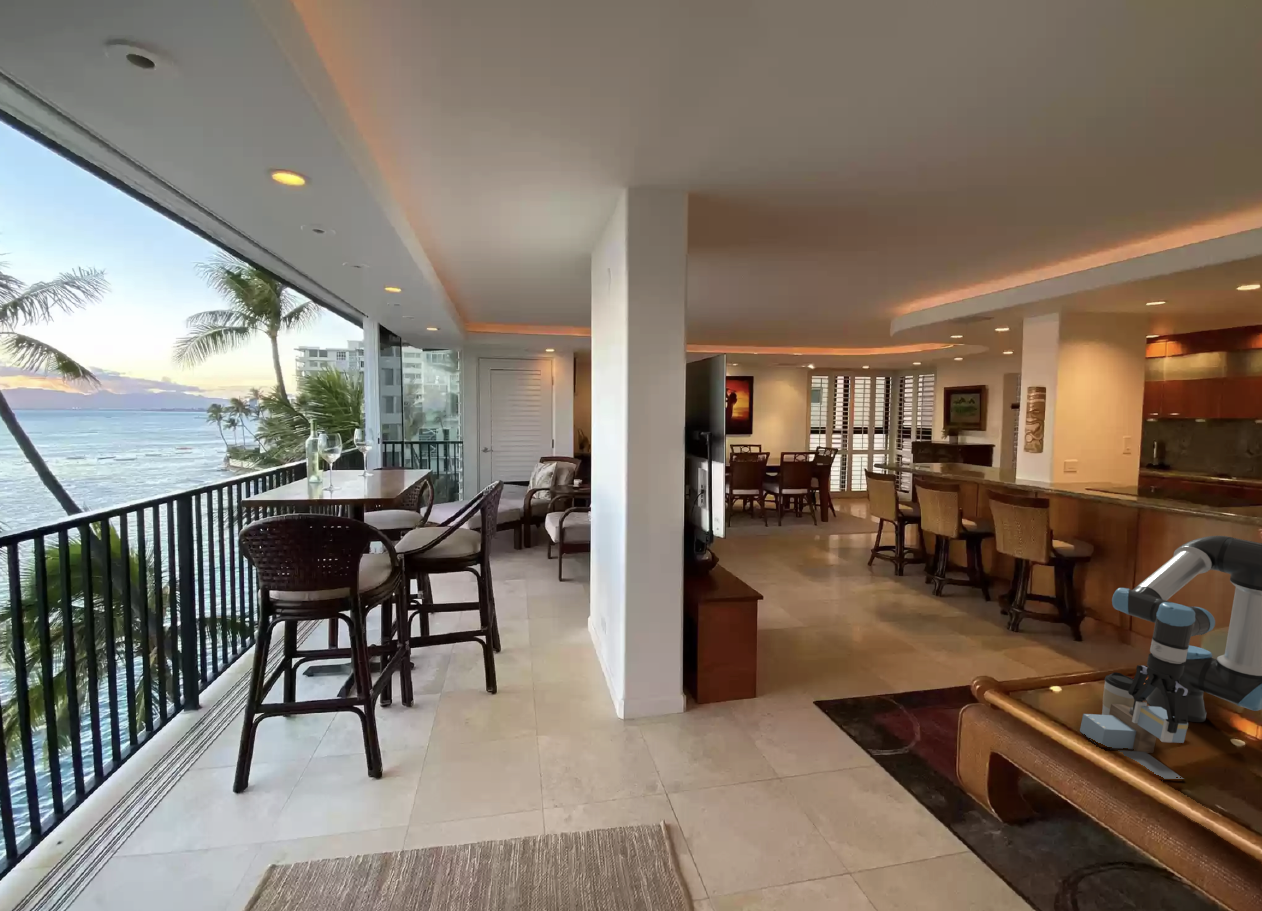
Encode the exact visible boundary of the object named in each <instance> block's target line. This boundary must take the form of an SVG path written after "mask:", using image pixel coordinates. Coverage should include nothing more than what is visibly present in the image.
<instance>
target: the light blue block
mask: <svg viewBox="0 0 1262 911" xmlns="http://www.w3.org/2000/svg"><path fill="white" fill-rule="evenodd" d="M1164 719H1168V716H1167V711H1166V710H1165V709H1163V708H1162V707H1153V706H1150V705H1147V706H1142V707H1141V710H1140V715H1139V720H1138V724H1137V725H1139V726H1140V727H1142V728H1143V729H1145V730H1147V731H1148V732H1150V733H1151V734H1153V735H1154V736H1156V739H1159V740H1160V738H1161V733H1162V729H1163V724H1164ZM1188 727H1189V722H1188V723H1187V724H1178V727H1177V732H1176V733H1174V735H1173V739H1172V742H1171V743H1176V744H1177V743H1178V744H1179V743H1180V744H1181V743H1182V744H1184V742H1185V740H1186V734H1187V731H1188V729H1189V728H1188Z"/></svg>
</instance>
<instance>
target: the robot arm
mask: <svg viewBox="0 0 1262 911" xmlns="http://www.w3.org/2000/svg"><path fill="white" fill-rule="evenodd" d="M1209 571H1217V572H1221V573H1225V574H1229V575H1230V579H1229V582H1230V583H1231V584H1232V585H1233V586H1234V587H1235V588H1234V597H1233V602H1232V608H1231V613H1230V614H1231V615H1230V621H1229V626H1228V632H1227V638H1226V645H1225V650H1224V653H1223V654H1222V655H1221V654H1220V655H1219V656H1217V657H1216V658H1213V653H1212V652H1211V651H1209V650H1207V649H1205V648H1202V647H1198V646H1194V645H1190V642H1191V637H1194V636H1195V637H1196V636H1202V635H1206V634H1207V633H1208V632H1212V630H1213V629H1214V628H1215V626H1216V619H1215V617H1214V616H1213V614H1212V613H1211V612H1210V611H1208V610H1207V609H1206V608H1203V607H1199V606H1187V605H1184V604H1179V603H1176V602H1172V601H1168V600H1169V599H1171V597H1172V596H1174V595H1175V594H1176V593H1178V592H1179V591H1180V590H1181V589H1182V588H1183V587H1184V586H1186V585H1187V584H1189V583H1190V582H1191V581H1192V580H1193V579H1194V578H1196V577H1197V575H1200V574H1204V573H1207V572H1209ZM1111 602H1112V603H1111V604H1112V607H1113V609H1114V610H1117V611H1120V612H1122V613H1124V614H1126V615H1128V616H1132V617H1135V618H1139V619H1141V620H1145V621H1147V622H1149V623H1154V626H1153V627H1154V628H1153V633H1152V638H1151V643H1150V644H1151V645H1150V649H1149V652H1150V653H1148V657H1147V661H1146V665H1141V664H1140V665H1136V672H1135V675H1134V678H1132V679H1133V682H1132V684H1131V687H1130V689H1129V691H1128V693H1129V694H1130V695H1132V696H1133V698H1134V705H1133V710H1134V714H1133V719H1132V722H1133V723H1138V720H1139V715H1140V710H1141V707H1142V706H1153V707H1162V708H1163V709H1165V710H1166V711H1167V716H1168V719H1164V724H1163V729H1162V733H1161V738H1160V739H1159V740H1160V741H1161V742H1162V743H1173V742H1172V739H1173V735H1174V733H1176V732H1177V727H1178V724H1187V723H1188V724H1189V722H1193V723H1204V722H1205V721H1206V718H1207V710H1206V709H1205V701H1204V693H1207V694H1209V695H1212V696H1215V697H1217V698H1219V699H1221V700H1224V701H1226V702H1229V703H1232V704H1234V705H1235V706H1237V707H1242V708H1245V709H1248V710H1251V711H1255V712H1256V711H1257V712H1258V711H1261V710H1262V542H1257V541H1252V540H1248V539H1247V540H1246V539H1241V538H1236V537H1233V536H1232V537H1231V536H1229V535H1228V536H1227V535H1210V536H1203V537H1199V538H1196V539H1192V540H1189V541H1187V542H1186V543H1183V544H1182V545H1180V546H1179V547H1177V548H1176V549H1175V550H1174V551H1173V556H1172V557H1171V558H1170V559H1169V560H1167V561H1166V562H1165V563H1163V565H1162V566H1160V567H1159V568H1157V569H1156V570H1155V571H1154V572H1153V573H1151V574H1150V575H1149V576H1148V577H1146V578H1145V579H1144V580H1143V581H1141V582H1140V583H1139V584H1138V585H1137V586H1135V587H1134V588H1133V589H1130V588H1127V587H1118V588H1117V589H1116V590H1115V591H1114V593H1113V595H1112V598H1111Z"/></svg>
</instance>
